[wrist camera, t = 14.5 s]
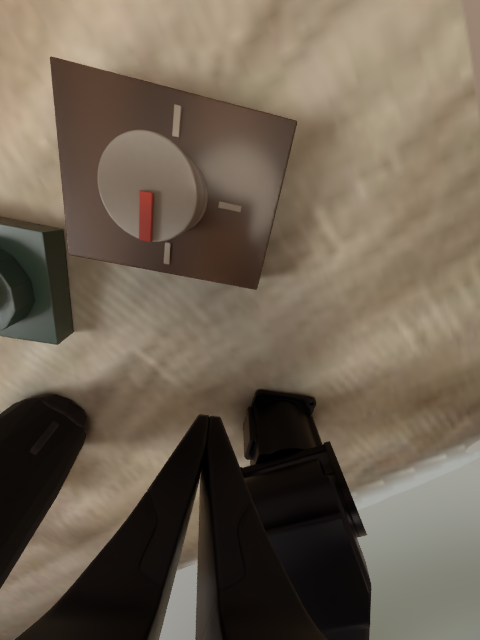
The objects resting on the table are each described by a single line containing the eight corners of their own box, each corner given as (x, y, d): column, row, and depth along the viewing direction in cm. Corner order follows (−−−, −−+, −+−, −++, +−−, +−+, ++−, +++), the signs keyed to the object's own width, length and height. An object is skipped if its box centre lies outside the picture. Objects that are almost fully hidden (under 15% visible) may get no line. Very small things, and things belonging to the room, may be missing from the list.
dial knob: (135, 142, 14) (89, 115, 9) (212, 160, 14) (202, 141, 10) (134, 224, 16) (95, 233, 11) (203, 238, 16) (191, 250, 12)
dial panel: (287, 134, 16) (298, 119, 13) (254, 278, 20) (257, 290, 18) (82, 82, 15) (46, 53, 12) (91, 247, 19) (66, 255, 16)
